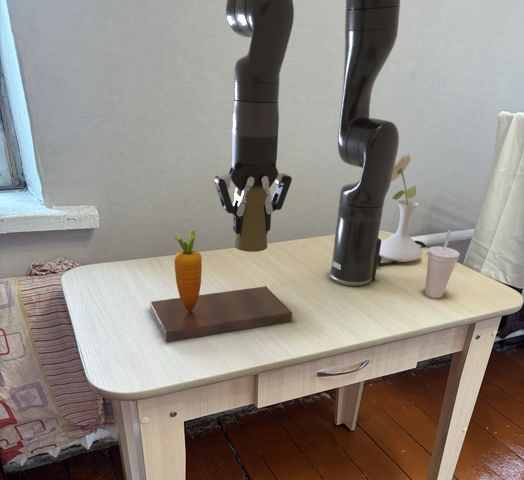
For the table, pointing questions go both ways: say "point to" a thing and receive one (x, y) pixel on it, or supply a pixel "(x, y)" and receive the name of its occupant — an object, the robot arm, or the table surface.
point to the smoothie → (439, 268)
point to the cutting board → (219, 313)
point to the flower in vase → (402, 223)
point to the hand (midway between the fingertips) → (251, 233)
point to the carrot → (188, 272)
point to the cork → (253, 222)
